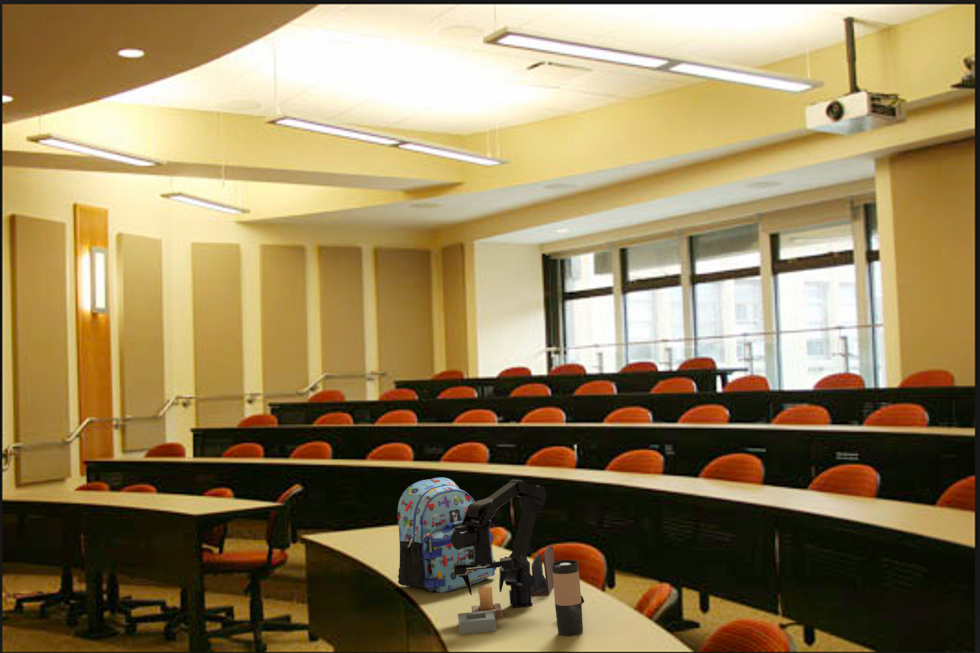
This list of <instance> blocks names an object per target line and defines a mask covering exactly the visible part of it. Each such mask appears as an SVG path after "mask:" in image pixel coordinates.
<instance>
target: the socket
mask: <svg viewBox="0 0 980 653" xmlns="http://www.w3.org/2000/svg"><path fill="white" fill-rule="evenodd" d="M457 617H458V618H457V619H458V622H457V623H458V628H459V635H469V634H476V633H477V634H478V633H486V632H487V633H488V632H496V631H497V624H496V619H495V617H494V614H493V611H492V610H490V611H480V612H472V611H470V612H461V613H457Z"/></svg>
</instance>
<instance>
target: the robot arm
mask: <svg viewBox="0 0 980 653" xmlns="http://www.w3.org/2000/svg"><path fill="white" fill-rule="evenodd" d="M515 497H519V505H520V507H521V514H520V518H519V522H518V526H517V530H516V533H515V539H514V543H513V547H512V551H511V553H510V554H509V555H508V556H504V557H500V558H499V560H498V561H496V562H492V552H491V539H490V528H491V529H492V528H495V526H496V524H494V523H493V522H492V521H491V522H490V520H491V519H493V517H494V516H495V515H496V512H497V510H498V509H499V508H501V507H502V506H504V505H505V504H506V503H508V502H509V501H510V500H512V499H513V498H515ZM546 499H547V491H546V489H545V487H543V486H542V485H534V484H531V483H528V482H526V481H524V480H523V479H511V480H509V481H508V483H507V484H505V485H504V486H502V487H501V488H500V489H498V490H496V491H495V492H494V493H492V494H491V495H489V496H488V497H486V498H484V499H479V500H476V501H475V502H474V503H471V504H470V505H469V506H468V510H467V512H466V514H465V517H464V519H463V522H462V524H461V527H455V531H454V532H453V534H452V537H451V543H452V545H453V547H454V548H455V549H457V550H460V549H463V548H467V547H471V546H473V549H468V559H469V560H473V562H474V564H466V562H456V563H454V565H453V567H454V574H455V575H459V577H462V578H463V579H464V581H465V583H466V585H467V586H466V587H467V590H468V592H469V595H470V596H472V595H473V593H472V591H473V590H472V588H471V586H472V585H470V581H469V576H468V572H467V570H477V569H487V568H496V569H498V568H499V569H498V570H499V582H498V589H499V593H502V590H503V587H504V586H503V585H504V583H505V586H507V587H508V586H509V588H510V589H509V590H508V596H509V597H508V598H509V604H510V605H511V608H520V607H521V608H522V607H531V606H533V602H532V596H531V588H530V587H532V586H534V584H535V578H534V577H533V576H532V573H531V572H530V573H529V563H528V561H529V560H528V553H529V548H530V543H531V539H532V536H533V530H534V527H535V522H536V518H537V514H538V513H539V512H540V510H541V509H542V508H543V507H544V505H545V502H546ZM471 521H473V522H471ZM478 565H480V566H479V567H478ZM486 565H490V566H486Z"/></svg>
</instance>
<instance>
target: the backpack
mask: <svg viewBox="0 0 980 653" xmlns="http://www.w3.org/2000/svg"><path fill="white" fill-rule="evenodd" d="M474 502H476V501H475V500H474V498H473V497H472V496H471V495H470V494H469V493H467V492H466V491H465V490H463V489H460V487H459V486H458V484H457V483H455V481H453V480H452V479H450V478H447V477H433V478H430V479H428V478H427V479H422V480H418V481H417V482H414V483H413V484H411V485H409V486H408V487H407V488H406V489H405V490H404V491H403V492H402V494H401V496H400V499H399V500H398V504H397V522H398V524H397V525H398V535H399V536H398V539H399V540H398V541H399V566H398V575H397V578H398V580H397V581H398V582H397V583H398V584H399V585H400V586H403V587H404V586H405V587H417V588H422V589H425V590H426V591H429V592H435V591H436V592H437V593H439V594H440V593H443V594H444V593H449V592H451V591H455V590H459V589H462V588H465V587H467V585H466V583H465V581H464V579H463V578H462V577H459V575H455V574H454V567H453V565H454V563H456V562H466V564H474V562H473V560H469V559H468V549H473V546H471V547H467V548H463V549H460V550H457V549H455V548H454V547H453V545H452V543H451V537H452V534H453V532H454V531H455V527H461V524H462V522H463V519H464V517H465V514H466V512H467V510H468V506H469V505H470V504H471V503H474ZM471 522H473V521H471ZM490 522H491V523H492V520H491V519H490ZM493 536H494V535H493V532H492V527H491V528H490V539H491V552H492V562H497V561H496V560H494V551H493V541H494V538H493ZM479 566H480V565H478V567H479ZM486 566H490V565H486ZM495 571H497V568H487V569H477V570H467V572H468V576H469V581H470V586H472V585H474V584H476V583H477V584H478V583H479V582H482V581H483V580H485V579H487V578H490V577H493V576H495V574H496V572H495Z"/></svg>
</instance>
